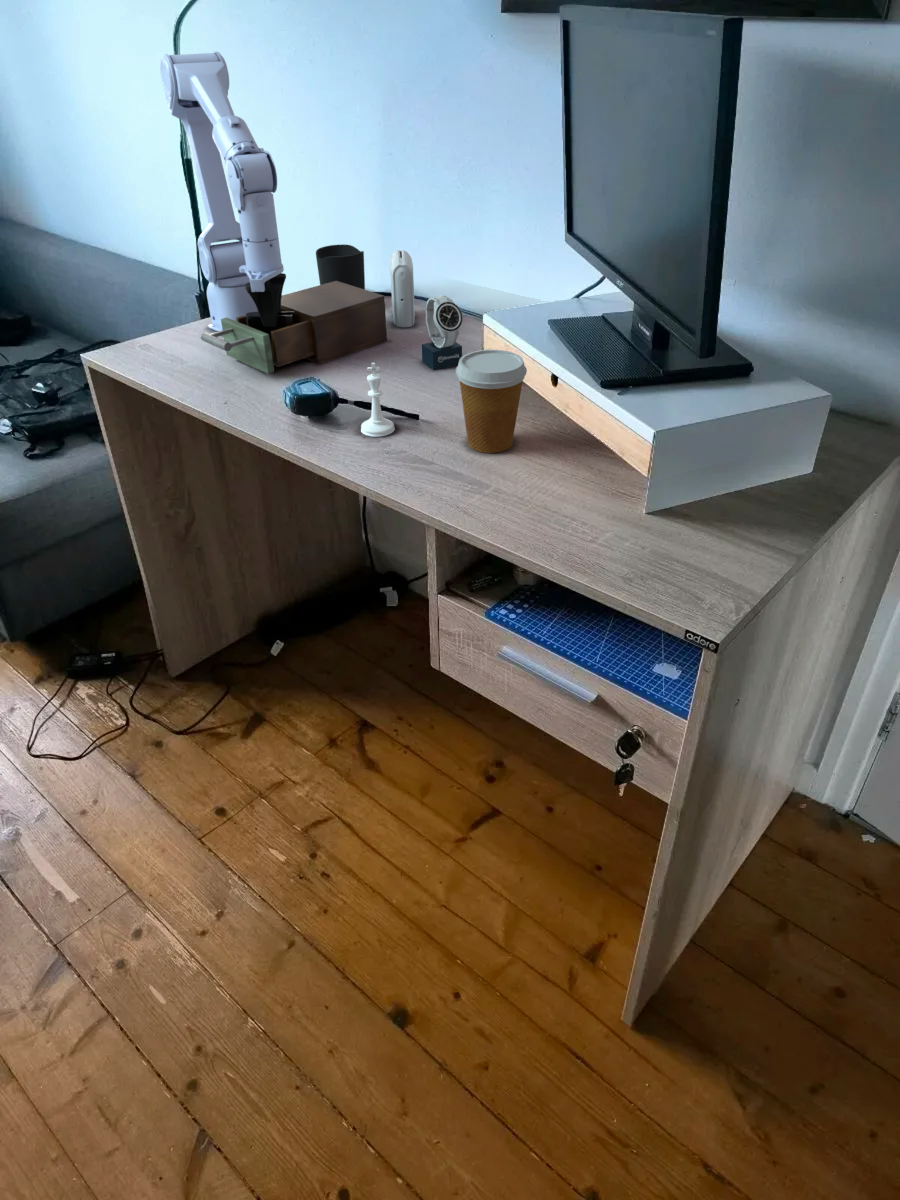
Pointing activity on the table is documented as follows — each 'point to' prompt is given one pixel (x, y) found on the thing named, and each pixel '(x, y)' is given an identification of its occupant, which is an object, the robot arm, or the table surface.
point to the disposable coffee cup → (490, 397)
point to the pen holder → (341, 265)
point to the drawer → (264, 343)
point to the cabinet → (339, 318)
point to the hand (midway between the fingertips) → (272, 323)
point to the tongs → (283, 321)
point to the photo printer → (402, 289)
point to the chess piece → (376, 409)
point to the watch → (442, 333)
